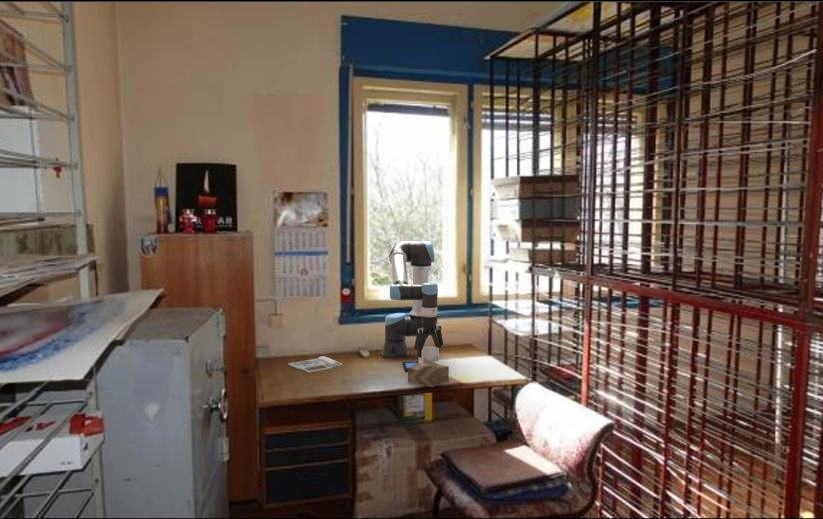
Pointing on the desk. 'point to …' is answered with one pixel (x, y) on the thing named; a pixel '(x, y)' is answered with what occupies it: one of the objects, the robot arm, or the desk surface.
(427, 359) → the die
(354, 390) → the desk surface
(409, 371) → the walnut block
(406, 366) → the handheld game console
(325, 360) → the office telephone
